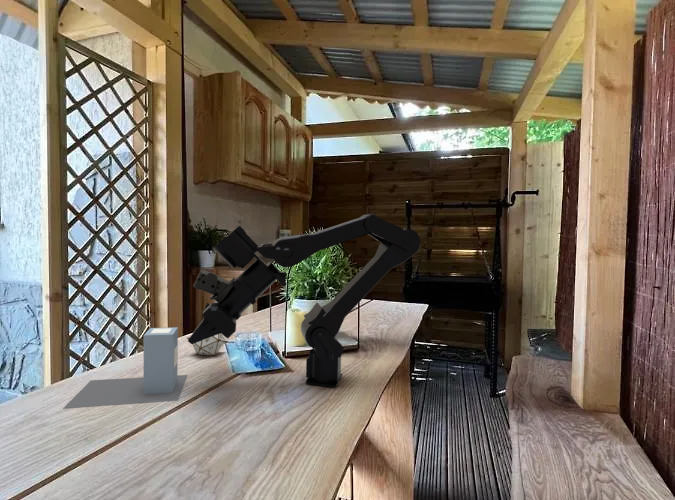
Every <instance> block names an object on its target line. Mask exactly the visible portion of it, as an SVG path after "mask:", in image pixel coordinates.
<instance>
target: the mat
mask: <svg viewBox="0 0 675 500" xmlns="http://www.w3.org/2000/svg"><path fill="white" fill-rule="evenodd" d="M188 376H189V374H182V375H181V374H180V375H179V374H177V384H176V386H175V389H174V391H173V393H159V394H144V376H142V377H130V378H129V377H128V378H127V377H126V378H124V377H123V378H111V379H110V378H107V379H92V380H89V381H88V383H87V384H86V385H84V386H83V388H82V389H80V390H79V392H78V393H76V395H75V396H74V397H73V398H72V399H71V400H70V401H69V402H68V403H66V404H65V406H64V407H63V408H62V410H63V409H78V408H81V409H82V408H90V407H94V408H95V407H107V406H119V405H120V406H122V405H123V406H124V405H134V404H150V403H162V402H163V403H164V402H177V401H179V400H180V397H181V394H182V391H183V389H184V386H185V383H186V380H187V378H188Z"/></svg>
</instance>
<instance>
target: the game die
mask: <svg viewBox="0 0 675 500" xmlns="http://www.w3.org/2000/svg"><path fill="white" fill-rule="evenodd" d="M189 338H190V337H189V336H188V337H186V339H187V340H188V339H189ZM227 343H229V341H228V340H225V336H224V335H222V334H218V335H215V336H212V337H209V338H207V339H204V340H202V341H199V342H197V343H194V344H192V346H193V349H194V351H195V353H196V354H195V356H211V357H212V356H213V357H216V356H217V355H216V354H217V353H218V352H219V351H220V350H221V348H222V347H223V345H224V344H227Z"/></svg>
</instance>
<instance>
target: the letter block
mask: <svg viewBox="0 0 675 500" xmlns="http://www.w3.org/2000/svg"><path fill="white" fill-rule="evenodd" d="M178 331H179V328H178V326H177V327H175V326H174V327H149V329H148V330H147V331H146V332H145V333H144V335H143V377H144V394H159V393H173V391H174V389H175V386H176V384H177V375H178V359H179V358H178V355H179V354H178V353H179V352H178V351H179V350H178V349H179V348H178V345H179V344H178V343H179V340H178V339H179V333H178Z"/></svg>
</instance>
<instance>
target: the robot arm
mask: <svg viewBox="0 0 675 500" xmlns="http://www.w3.org/2000/svg"><path fill="white" fill-rule="evenodd" d="M367 235H368V236H370V237H371V238H373V239H375V240H376V241H378V242H380V243H379V244H378V247H377V250H376V253H375V254H374V256H373V257H372V258H371V259H370V260H369V261H368V262H367V263H366V264H365V266H363V268H361V270H360V271H359V272H358V273H357V274H356V275H355V276H354V277H353V278H352V279H351V280H350V281H349V282H348V283H347V284H346V285H345V286H344V287H343V288H342V289H341V290H340V291H339V292H338V293H337V295H335V296H334V298H332V299H331V301H329V302H328V303H325V305H321V304H319V302H316V303H315V304H314V305H313V307H312V308H311V309H310V310H309V312H307V313H305V314H303V318H304V319H303V320H302V321H301V324H300V332H301V334H302V337H303V338H304V341H305V342H306V344H307V345H308V346H309V347H310V348H311V349H310V350H309V351H308V357H307V358H306V359H305V360H306V365H305V377H306V380H305V384H306V385H313V386H320V387H329V388H336V387H338V385H339V383H340V381H341V379H342V378H343V373H341V371H342V368H341V367H342V355H343V352H344V350H345V347H344V346H343V345H342V343H341V342H340V341H339V340H338V338H337V337H336V336H337V335H338V333H339V331H340V329H341V327H342V325H343V323H344V321H345V319H346V317H347V316H348V315H349V313H351V312H352V310H354V309H355V307H356V306H357V305H358V304H359V303H360V302H361V301H362V300H364V299H365V297H366V296H367V295H368V294H369V293H370V292H371V291H372V290H373V288H374V287H375V286H376V285H377V284H378V283H380V281H381V280H382V279H383V278H384V277H385V276H386V275H387V274H388V273H389V272H390V271H391V270H392V269H394V268H396V267H397V266H399V265H401V264H403V263H405V262H406V261H408V260H409V259H410V258H412V257H413V256H415V255H416V254H417V253H418V252H419V251H420V248H421V245H422V244H421V238H420V235H419V233H418V232H416V231H415V230H414V229H411V228H402V227H400V226H398V225H396V224H394V223H392V222H389V221H387V220H384V219H382V218H381V217H379V216H378V215H377V214H373V213H369V214H362V215H361V216H360V217H358V218H355V219H351V220H348V221H346V222H342V223H340V224H337V225H334V226H330V227H327V228H325V229H321V230H318V231H314V232H312V233H306V234H304V233H303V234H298V235H297V234H296V235H289V236H281V237H279V238H277V239H275V240H274V241H273V242H272V243H265V244H263V243H261V244H258V243H256V241H255V240H253V239H252V237H250V235H249V234H248V233H247V232H246V230H245V229H244V228H243V227H242V226H241V225H238V226H236V228H234V229H233V230H232V232H230V233H229V234H228V235H225V236H224V237H223V238H222V239H220V241H219V242H218V243H216V245H214V247H212V249H213V251H215V252H216V253H217V254H218V255H219V256H220V257H221V258H222V259H223V260H224V261H225V262H226V263H227V265H229V266H230V267H231V268H232V269H235V268H236V267H238V269H241V270H242V269H244V268H245V267H246V266H247V265H248V264H250V262H251V261H252V260H253V259H255V260H254V261H253V262H252V263H251V264H250V265H249V266H248V267H247V268H246V269H245V270H243V272H241V273H240V274H239V275H238V276H237V277H232V279H230V280H227V279H226V278H224V277H221V276H219V275H218V274H216V273H213V272H212V271H208V270H206V269H201V270H200V272H199V273H198V275H197V278H196V280H195V281H194V283H193V285H192V287H193V288H195V289H197V290H198V291H204V292H206V293H208V294H210V297H209V299H210V300H211V301H212V300H214V302H211V303H209V302H207V303H206V305H205V306H204V309H203V311H202V316H203V318H202V320H201V321H200V322H199V324H198V326H196V328H195V329H194V331H193V332H192V333H191V335H190V338H189V339H187V342H188V343H189V344H191V345H193V344H194V343H197V342H199V341H202V340H204V339H207V338H209V337H212V336H215V335H218V334H222V335H223V337H224V338H226V339H229V338H231V336H232V335H233V334H234V333H235V332H237V321H239V319H240V318H241V316H242V313H244V312H245V311H246V310H247V309H248V308H249V307H250V306H251V305H255V304H256V303H257V299H258V298H260V296H261V295H263V294H264V292H266V290H268V289H269V288H270V287H271V286H272V285H273V284H274V283H275V282H276V281H277V282H278V283H279V284H280V285H282V286H283V287H286V285H287V282H286V281H287V276H288V273H287V271H286V270H285V271H284V270H283V271H282V270H281V271H280V269H278V267H277V266H276V265H275V264H274V263H273V262H272V261H269V262H268V263H266V262H265V261H264V260H262V258H265V259H268V260H269V259H270V260H273V261H274V262H275V263H276V264H277V265H278V266H280V267H282V268H291V267H294V266H296V265H298V264H300V263H301V262H303V261H305V260H307V259H308V258H310V257H311V256H313V255H314V254H316V253H318V252H319V251H323V250H325V249H328V248H331V247H335V246H337V245H340V244H343V243H346V242H349V241H351V240H354V239H357V238H361V237H363V236H367ZM257 253H259V254H260V255H261V257H262V258H260V256H259V255H258V254H257Z"/></svg>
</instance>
